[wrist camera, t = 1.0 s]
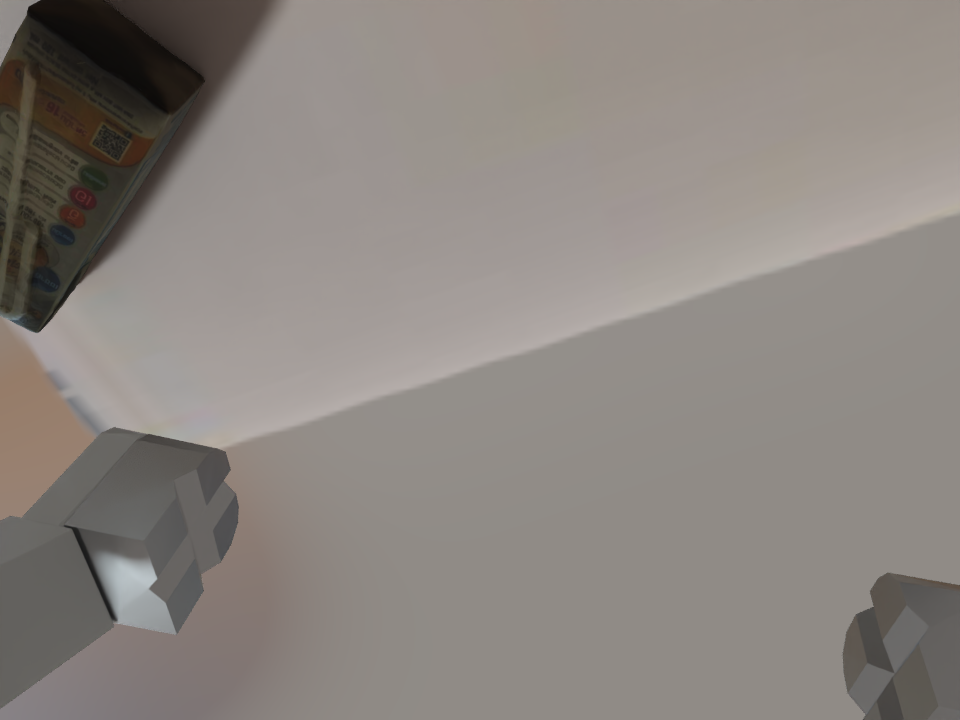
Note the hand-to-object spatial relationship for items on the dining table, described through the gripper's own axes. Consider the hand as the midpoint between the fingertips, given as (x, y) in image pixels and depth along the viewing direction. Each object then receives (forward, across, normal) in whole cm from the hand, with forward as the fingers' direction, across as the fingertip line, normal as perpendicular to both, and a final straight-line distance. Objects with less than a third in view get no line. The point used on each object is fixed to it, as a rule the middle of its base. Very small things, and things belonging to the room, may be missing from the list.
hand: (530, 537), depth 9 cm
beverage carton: (+32, +32, +10) cm, 46 cm away
